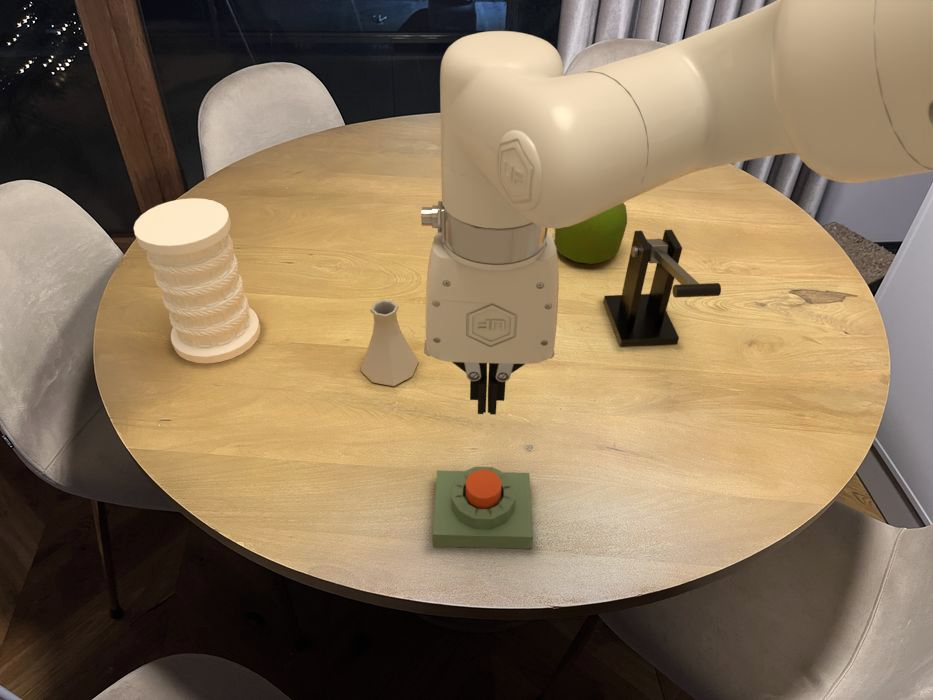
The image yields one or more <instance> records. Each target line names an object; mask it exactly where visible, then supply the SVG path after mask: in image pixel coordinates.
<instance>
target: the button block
mask: <svg viewBox="0 0 933 700" xmlns="http://www.w3.org/2000/svg"><path fill="white" fill-rule="evenodd" d="M477 470H489V471H492V472H494V473H495V474H497V475H498V476H499V478H500V480H501V484H502V485H501V497H500V500H499V501H498V503H497V504H496V505H494V506H492V507H490V508H477V507H475V506H473V505H472V504H470V503H469V501H468V500H467V498H466V480H467V478H468V476H469V475H470V474H471V473H473V472H475V471H477ZM434 492H435V493H434V495H435V496H434V506H433V508H434V509H433V520H432V547H443V548H479V549H480V548H481V549H482V548H483V549H515V550H516V549H518V550H519V549H522V550H524V549H525V550H531V549H532V548H533V547H532V546H533V541H534V533H533V532H534V530H533V517H532V516H533V512H532V497H531V496H532V495H531V480H530V472H515V471H513V472H510V471H508V472H507V471H501V470H499V469H497V468H495V467H493V466H473V467H471V468H469V469H466V470H436V479H435V491H434Z"/></svg>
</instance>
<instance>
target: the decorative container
mask: <svg viewBox="0 0 933 700" xmlns="http://www.w3.org/2000/svg"><path fill="white" fill-rule="evenodd" d="M227 209H228V208H227V207H226V206H224V205H223V204H222V203H220V202H218V201H215V200H212V199H207V198H198V197H196V198H195V197H191V198H180V199H175V200H171V201H167V202H164V203H161V204H157V205H155V206H154V207H151V208H150V209H148V210H147V211H145V212H144V213H142V214H141V215H140V216H139V217H138V218H137V219H136V220H135V222H134V225H133V232H134V236H135V239H136V241H137V244H138V245H139V246H140V247H141V248H142V249H143V250H146V260H147V263H148V264H149V265H150V267H151V268H152V269H153V270H154V273H153V274H154V282H155V283H156V286H157V287H158V289H159V290H160V291H161V301H162V303H163V305H164V307H165V308H166V309H167V311H168V317H169V322H170V324H171V326H172V329H171V332H170V341H171V345H172V347H173V349H174V351H175V353H176V354H177V355H178V357H180V358H182V359H184V360H186V361H188V362H192V363H195V364H217V363H221V362H226V361H229V360H232V359H234V358H237V357H238V356H241V355H242V354H244V353H245V352H247V351H248V350H249V349H251V348H252V347H253V346H254V344H255V343H256V342H257V341H258V339H259V337H260V335H261V323H260V320H259V317H258V315H257V313H256V311H254V310H253V309H252V308H251V307H250V305H249V304H250V303H249V299H248V298H247V295H246V294H245V293H244V291H245V286H244V285H245V282H243V281H244V280H243V279H242V277H241V274H239V270H240V266H239V262H238V261H239V260H238V259H237V256H236V254H235V253H234V244H233V243H234V241H232V240H233V239H232V237H231V235H230V233H229V231H230V229H231V225H232V222H231V217H230V213H229V211H228V210H227Z"/></svg>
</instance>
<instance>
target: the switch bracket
mask: <svg viewBox="0 0 933 700" xmlns="http://www.w3.org/2000/svg"><path fill="white" fill-rule="evenodd" d="M647 239H648V238H646V236H645V234H644V231H643V230H634V233H633V238H632V243H631V247H630V251H629V252H630V253H629V257H628V263H627V267H626V272H625V278H624V282H623V287H622V291H621V294H613V295H611V294H610V295H609V294H608V295H604V296H603V304H604V308H605V310H606V313H607V316H608V319H609V321H610V324H611V326H612V329H613V332H614V334H615V337H616V339H617V342H618V346H619V347H644V346H665V345H666V346H667V345H677V344H678V343H679V339H680V337H679V334H678V333H677V330H676V328H675V326H674V324H673V322H672V320H671V318H670V316H669V313H668V311H667V309H668V304H669V301H670V298H671V294H672V293H671V292H672V291H673V286H674V281H675V278H674V277H673V276H672V275H671V274H670V273H669V272H668V271H667V270H666V269H665V268H664V267H663V266H662V265H661V264H660V263H656V266H655V269H654V274H653V277H652V282H651V286H650V291H649V293H643V289H644V283H645V279H646V274H647V270H648V265H649V258H650V253H651V247H650V245H649V243H648V241H647ZM662 240H663V241H664V242H665V243H666V244H667V245H668V252H667V254H668V255H669V256H670V257H671V258H672V259H673V260H674V261H675V262H676V263H678V264H679V262H680V259H681V255H682V252H683V247H682V245H681V243H680V241H679V240H678V237H677V236H676V234H675V232H674V231H673V229H664V231H663V236H662Z"/></svg>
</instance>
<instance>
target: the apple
mask: <svg viewBox="0 0 933 700" xmlns="http://www.w3.org/2000/svg"><path fill="white" fill-rule="evenodd" d="M627 225H628V211H627V206H626V204H625V202H624V203H622V204H620V205H617V206H615V207H613V208H611V209H609V210H606V211H604V212H602V213H600V214H598V215H596V216H594V217H592V218H589V219H587V220H585V221H583V222H580V223H578V224H575V225H572V226H569V227H563V228H554V243H555V245H556V250H557V251H558V253H559V254H561V255H562V256H564V257H565V258H567V259H569V260H571V261H573V262H576V263H579V264H592V265H593V264H598V263H604V262H606V261H608V260H610V259H612V258H614V257H615V256H616V255H617V254H618V253H619V251H620V248H621V245H622V242H623V239H624V235H625V232H626V229H627Z"/></svg>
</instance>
